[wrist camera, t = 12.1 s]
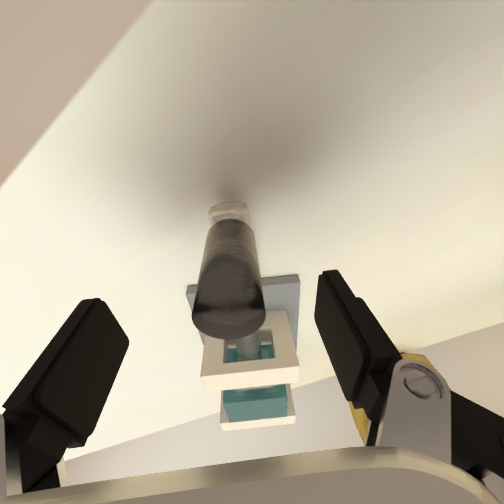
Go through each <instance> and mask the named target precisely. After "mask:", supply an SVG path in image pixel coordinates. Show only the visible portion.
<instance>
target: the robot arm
mask: <svg viewBox="0 0 504 504" xmlns="http://www.w3.org/2000/svg"><path fill="white" fill-rule="evenodd" d="M314 318H315V322H316V325H317V328H318V330H319V333H320V335H321V338H322V340H323V343H324V345H325V348H326V350H327V353H328V356H329V358H330V361H331V363H332V366H333V368H334V371H335V373H336V376H337V378H338V381H339V383H340V386H341V388H342V391H343V393H344V396H345V398H346V400H347V401H351V402H352V404H353V407H354V409H361V408H363V409H364V412H365V414H366V416H367V418H368V419H369V420H370V421H369V426H368V430H367V434H366V438H365V443H364V447H349V448H341V449H333V450H324V451H315V452H306V453H298V454H291V455H284V456H277V457H270V458H262V459H255V460H247V461H241V462H233V463H226V464H219V465H211V466H205V467H197V468H190V469H183V470H176V471H169V472H162V473H155V474H148V475H141V476H134V477H128V478H120V479H113V480H106V481H100V482H93V483H86V484H79V485H73V486H69V482H68V477H67V473H66V468H65V463H64V458H63V455H64V453H65V450H66V448H76V447H83V446H84V445H85V443H86V441H87V438H88V436H90V435H91V434H92V433H93V431H94V429H95V427H96V424H97V422H98V419H99V417H100V414H101V412H102V410H103V407H104V405H105V402H106V400H107V397H108V395H109V393H110V390H111V388H112V385H113V383H114V380H115V378H116V376H117V373H118V371H119V368H120V366H121V363H122V361H123V359H124V356H125V354H126V351H127V349H128V346H129V339H128V337H127V336H126V334H125V332H124V331H123V329H122V328H121V326H120V325H119V323H118V321H117V320H116V318H115V317H114V315H113V314H112V312H111V310H110V309H109V307H108V306H107V304H106V303H105V302H104V301H102V300H101V299H99V298H94V299H85V300H82V301H81V302H80V303H79V304H78V305H77V307H76V308H75V309H74V311H73V312H72V313H71V315H70V316H69V317H68V319H67V320H66V321H65V323H64V324H63V325H62V327H61V328H60V329H59V331H58V332H57V333H56V335H55V336H54V338H53V339H52V340H51V342H50V343H49V344H48V346H47V347H46V348H45V350H44V351H43V352H42V354H41V355H40V356H39V358H38V359H37V360H36V362H35V363H34V364H33V366H32V367H31V368H30V370H29V371H28V372H27V374H26V375H25V376H24V378H23V379H22V380H21V382H20V383H19V384H18V386H17V387H16V388H15V390H14V391H13V392H12V394H11V395H10V396H9V398H8V399H7V400H6V402H5V403H4V404H3V406H2V407H4V408H5V409H6V410H5V412H4V413H3V414H2V415H1V414H0V504H504V418H503V417H501V416H499V415H497V414H495V413H493V412H491V411H489V410H488V409H486V408H484V407H482V406H480V405H478V404H476V403H474V402H472V401H470V400H468V399H466V398H464V397H463V396H461V395H459V394H457V393H455V392H453V391H451V390H450V388H449V386H448V384H447V382H446V380H445V379H444V378H443V377H442V376H441V374H440V373H439V372H438V371H436V370H435V369H434V368H433V367H431V366H430V365H428V364H426V363H424V362H422V361H419V360H416V359H409V358H406V359H403V357H402V356H401V354H400V353H399V352H398V350H397V349H396V347H395V346H394V344H393V343H392V341H391V340H390V338H389V337H388V335H387V334H386V333H385V331H384V330H383V328H382V327H381V325H380V324H379V322H378V321H377V319H376V318H375V316H374V315H373V314H372V312H371V311H370V309H369V308H368V306H367V305H366V303H365V302H364V301H363V299H361V298H360V297H355V295H354V294H353V292H352V291H351V289H350V288H349V286H348V285H347V283H346V282H345V280H344V279H343V277H342V276H341V274H340V273H339V271H338V270H328V271H323V273H322V275H319V278H318V287H317V296H316V305H315V314H314Z"/></svg>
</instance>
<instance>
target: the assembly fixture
mask: <svg viewBox="0 0 504 504" xmlns="http://www.w3.org/2000/svg"><path fill="white" fill-rule="evenodd" d="M261 284H262V290H263V297H264V304H265V311H266V318H265V321H264V323H263V325H262V326H261V327H260V328H259V329H260V339H261V345H266V344H272V348H273V355H274V358H271V359H261V360H252V361H243V362H233V363H228V348H236V343H235V339H230V340H226V339H217V338H213V337H210V336H208V335H206V334H204V333H202V332H201V331H200V330H198V331H199V333H200V336H201V339H202V342H203V345H204V351H203V359H202V367H201V375H200V377H201V380H202V382H203V384H204V387H205V389H206V391H207V392H213V391H221V411H220V425H221V427H222V429H223V431H228V430H238V429H247V428H255V427H264V426H274V425H284V424H293V423H295V418H296V417H295V416H296V414H295V409H294V405H293V399H292V393H291V388H290V383H297V382H298V379H299V367H300V366H299V362H298V358H297V354H296V347H297V330H298V313H299V296H300V280H299V277H298V275H291V276H281V277H271V278H262V279H261ZM196 290H197V285H194V286H188V287H187V291H186V296H187V299H188V302H189V305H190V308H191V310H193V305H194V300H195V295H196ZM278 384H285V385H286V391H287V396H288V402H287V417H279V418H270V419H261V420H252V421H242V422H233V423H229V420H228V417H227V414H226V411H225V409H224V406H223V390H231V389H238V391H239V390H249V389H258V388H268V387H274V385H278Z"/></svg>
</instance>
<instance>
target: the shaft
mask: <svg viewBox="0 0 504 504" xmlns="http://www.w3.org/2000/svg"><path fill="white" fill-rule="evenodd" d="M209 218H210V222H211V228H210V230H209V232H208V234H207V239H206V244H205V249H204V254H203V259H202V265H201V270H200V275H199V280H198V285H197V290H196V295H195V300H194V305H193V310H192V320H193V323H194V325H195V326H196V328H197V329H198V330H200V331H201V332H202V333H204V334H206V335H208V336H210V337H213V338H217V339H226V340H230V339H235V343H236V348H237V353H238V358H239V362H243V361H252V360H261V359H262V349H261V339H260V329H259V328H260V327H261V326H262V325H263V323H264V321H265V318H266V311H265V304H264V297H263V290H262V284H261V277H260V270H259V263H258V256H257V249H256V242H255V236H254V232H253V230H252V229H251V228H250V226H249V215H248V207H247V206H246V205H245V204H242V203H237V202H229V203H223V204H219V205H216V206H214V207H213V208H211V209H210V210H209Z"/></svg>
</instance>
